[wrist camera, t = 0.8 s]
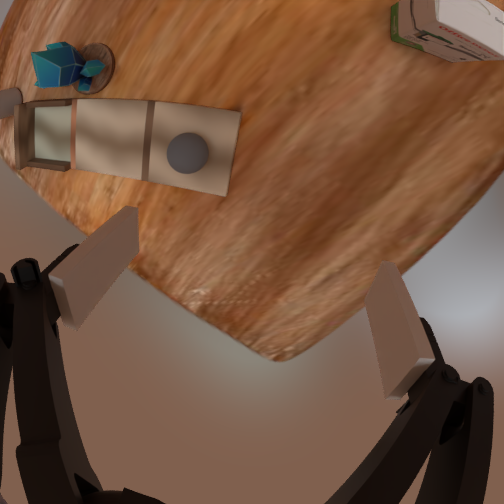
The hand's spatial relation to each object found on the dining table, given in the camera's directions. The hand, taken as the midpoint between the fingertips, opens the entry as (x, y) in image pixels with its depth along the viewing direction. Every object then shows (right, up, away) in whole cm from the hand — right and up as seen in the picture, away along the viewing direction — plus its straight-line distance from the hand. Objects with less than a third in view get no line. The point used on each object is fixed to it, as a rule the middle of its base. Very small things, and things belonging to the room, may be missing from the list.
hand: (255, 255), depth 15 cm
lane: (-18, +15, +17) cm, 29 cm away
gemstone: (-21, +24, +13) cm, 34 cm away
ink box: (+19, +25, +6) cm, 32 cm away
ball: (-7, +11, +14) cm, 19 cm away
